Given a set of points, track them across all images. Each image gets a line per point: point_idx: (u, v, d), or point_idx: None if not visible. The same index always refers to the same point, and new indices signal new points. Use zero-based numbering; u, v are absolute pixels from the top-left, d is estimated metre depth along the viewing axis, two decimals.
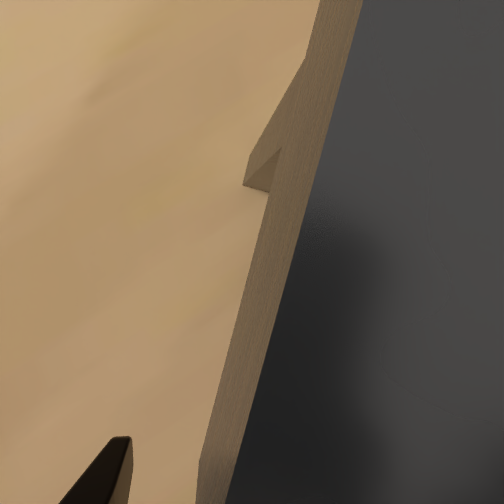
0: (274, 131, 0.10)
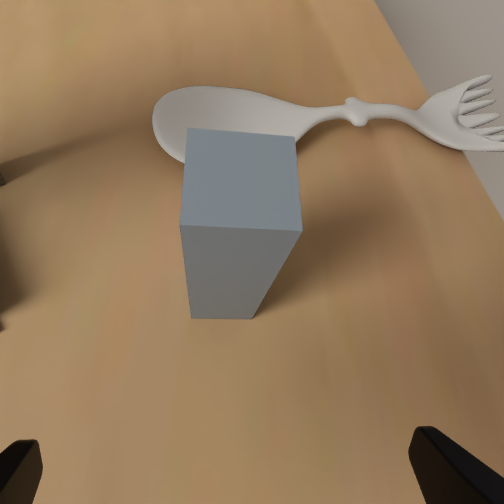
0: None
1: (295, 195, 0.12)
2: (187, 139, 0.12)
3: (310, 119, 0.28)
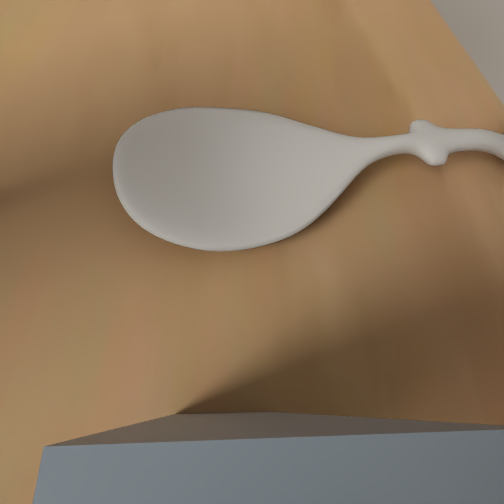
0: None
1: None
2: None
3: (361, 157, 0.18)
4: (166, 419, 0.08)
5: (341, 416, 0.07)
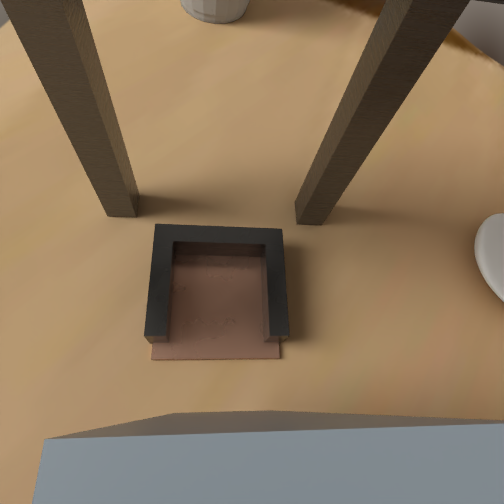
0: None
1: None
2: None
3: None
4: (166, 417, 0.08)
5: None
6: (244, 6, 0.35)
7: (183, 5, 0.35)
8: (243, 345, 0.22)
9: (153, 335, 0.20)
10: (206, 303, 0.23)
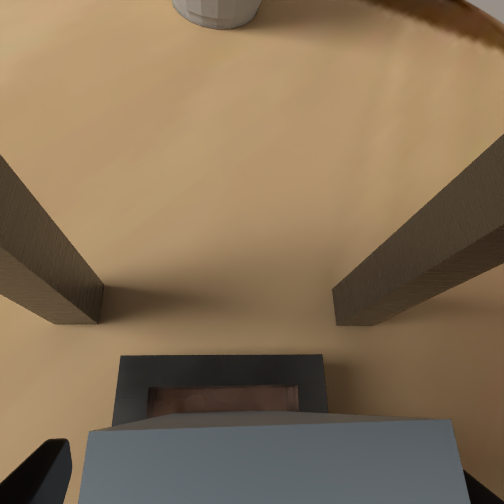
0: None
1: None
2: (83, 495, 0.03)
3: None
4: (169, 416, 0.09)
5: (321, 413, 0.08)
6: (255, 6, 0.26)
7: (175, 5, 0.27)
8: None
9: None
10: None
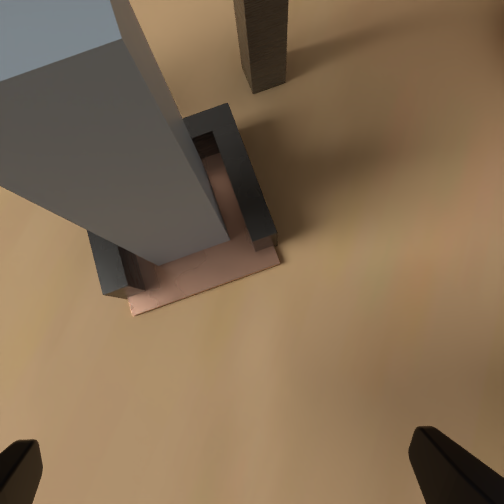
0: None
1: None
2: None
3: None
4: None
5: None
6: None
7: None
8: (232, 263, 0.18)
9: (113, 290, 0.16)
10: None
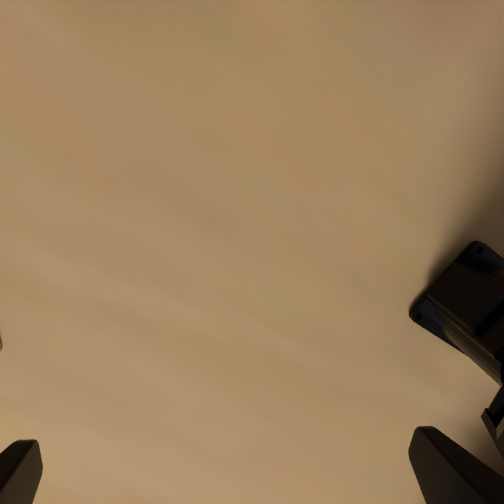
0: None
1: None
2: None
3: None
4: None
5: None
6: None
7: None
8: None
9: None
10: None
